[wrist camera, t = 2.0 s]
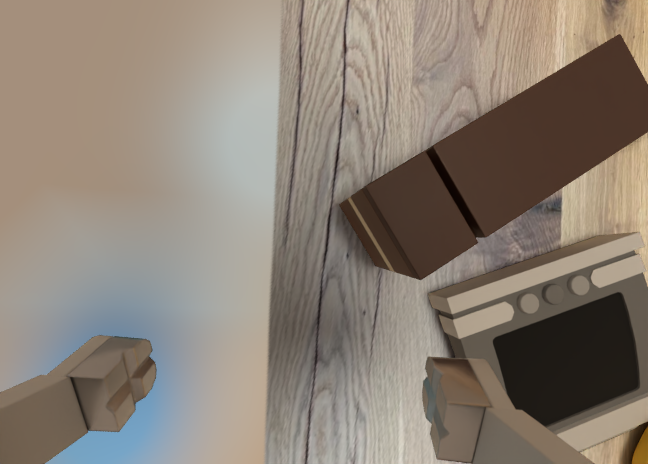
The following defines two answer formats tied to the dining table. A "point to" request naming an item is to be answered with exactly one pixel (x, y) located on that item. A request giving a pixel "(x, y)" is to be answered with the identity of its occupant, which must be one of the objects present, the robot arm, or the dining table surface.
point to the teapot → (641, 450)
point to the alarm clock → (562, 335)
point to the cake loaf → (544, 137)
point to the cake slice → (409, 220)
